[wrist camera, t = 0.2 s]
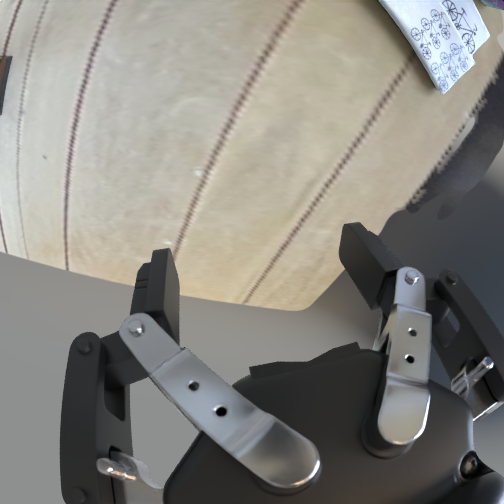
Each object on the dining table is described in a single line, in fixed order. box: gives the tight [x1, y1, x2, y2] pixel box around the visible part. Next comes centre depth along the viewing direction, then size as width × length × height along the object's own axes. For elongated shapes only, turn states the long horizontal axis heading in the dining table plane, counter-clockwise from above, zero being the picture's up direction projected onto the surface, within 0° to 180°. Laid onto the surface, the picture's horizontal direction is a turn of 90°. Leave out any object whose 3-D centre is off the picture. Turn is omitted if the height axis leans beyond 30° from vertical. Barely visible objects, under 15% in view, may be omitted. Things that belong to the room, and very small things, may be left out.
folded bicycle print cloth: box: [378, 0, 490, 95], centre depth 17 cm, size 19×20×2 cm
